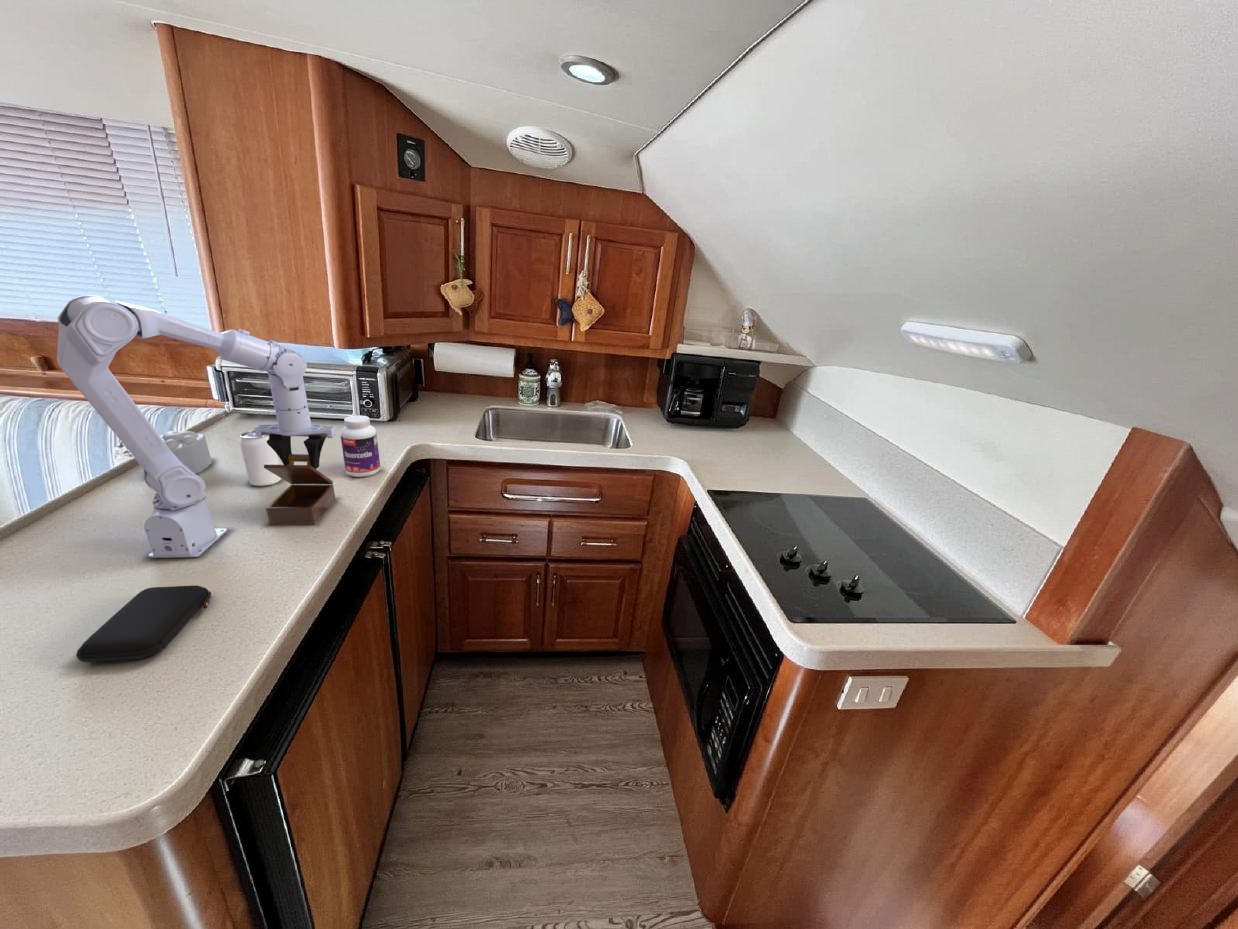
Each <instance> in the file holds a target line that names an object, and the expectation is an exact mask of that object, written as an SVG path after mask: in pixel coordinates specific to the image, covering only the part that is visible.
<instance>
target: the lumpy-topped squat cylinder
mask: <svg viewBox="0 0 1238 929" xmlns="http://www.w3.org/2000/svg"><path fill="white" fill-rule="evenodd" d="M159 436H160V437H161V438H162V440H163V441H164V442H165V444H166V445H167V446H168V448H169V449H170V450H171V452H172V453H173V454H174V455H175V456H176V457H177V458H178V459H179V461H181V462H182V463H184V464H185V465H186V466H187V467H188V469H190V470H191V471H192V472H193V473H194V474H196V475H197V474H199V473H200V472H202V471H204V470H206V469H207V468H208V467H209V466H210V465H212V463H213V460H212V456H211V453H210V450H209V446H208V443H207V439H206V436H205V434H203V433H198V432H195V431H190V430H185V431H184V430H182V431H176V430H170V431H167V432H165V433H164V434H161V435H160V434H159Z"/></svg>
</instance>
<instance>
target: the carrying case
mask: <svg viewBox="0 0 1238 929" xmlns="http://www.w3.org/2000/svg"><path fill="white" fill-rule="evenodd" d="M211 598H212V591H209V590H208V588H206V587H204V586H201V585H197V584H196V585H176V586H175V585H174V586H155V587H154V586H152V587H148V588H147V587H146V588H145V589H143V590H141V591H139V592H138V593H137V594H136V595H135V596H134V597H132V598H131V599H130V600H129V601H128V602H127V603H125V605H123V606H122V607H121V608H120V609H119V610H118V611H117V612H116V613H114V614H113V615H112V616H111V617H110V618H109V619H108V620H106V621H105V622H104V623H103V624H102V625H101V626H100V627H99V628H98V629H97V630H96V631H94V632H93V633H92V635H90V636H88V638H87V639H86V640H85V641H84V642H83V643H82V644H81V646H80V647H79V648H78V649H77V651H76V658H77V660H78V661H80V662H82V663H91V664H93V663H106V662H107V663H108V662H120V661H121V662H122V661H136V660H145V659H150V658H152V657H154V656H156V655H157V654H158V653H160V652H161V651H162V649H165V648H166V647H167V646H168V644H169V643H170V642H171V641H172V640H173V639H174V638H175V637H176V635H177V634H178V633H179V632H180V631H181V630H182V629H183V628H184V627H185V626H186V625H187V623H188V622H189V621H190V620H191V619H192V618H193V617H194V616H195V614H196V613H197V612H198V611H199V610H200V609H201V608H202V607H203V608H204V609H207V608H208V607H209V604H210V601H211Z"/></svg>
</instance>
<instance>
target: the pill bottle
mask: <svg viewBox="0 0 1238 929" xmlns="http://www.w3.org/2000/svg"><path fill="white" fill-rule="evenodd" d="M343 422H344V427H342V428H341V430H340V433H339V434H340V435H339V436H340V441H341V442H340V443H341V449H342V458H343V463H344V471H345V473H346V474H347V475H349V476H351V477H355V478H365V477H370V476H373V475H376V474H377V473H379V471H380V470H381V460H380V453H379V442H378V432H377V429H376V428H375V426H373V425H371V420H370V417H369V416H367V415H361V414H360V415H359V414H358V415H351V416H347V417H345V418H344V421H343Z"/></svg>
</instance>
